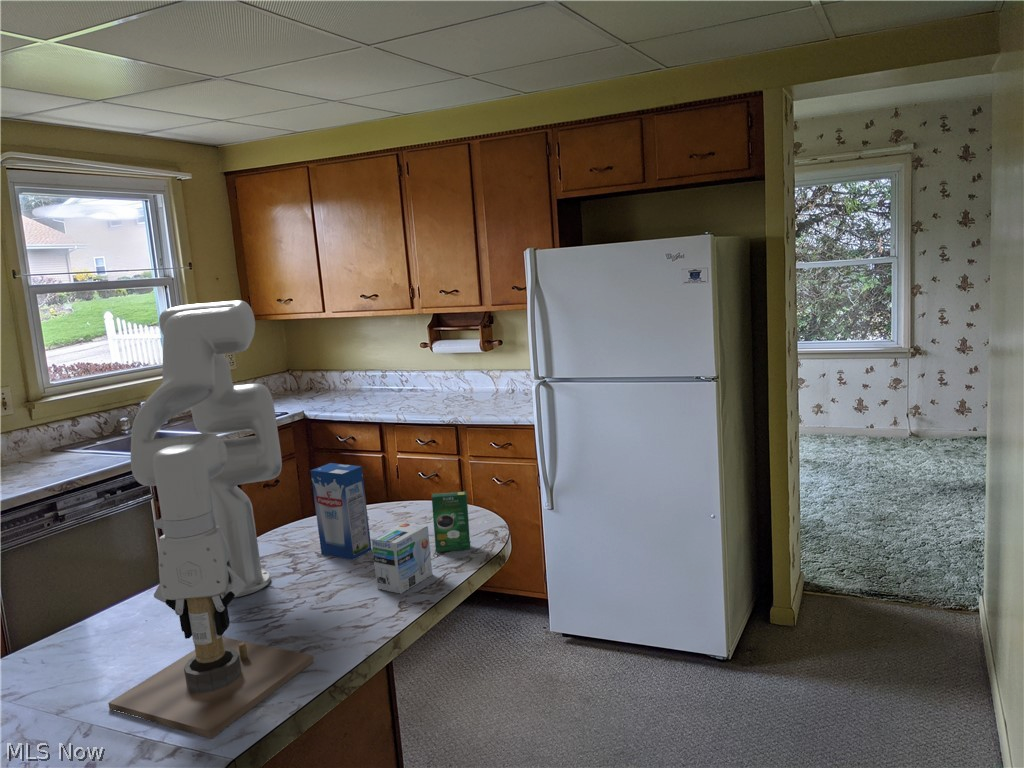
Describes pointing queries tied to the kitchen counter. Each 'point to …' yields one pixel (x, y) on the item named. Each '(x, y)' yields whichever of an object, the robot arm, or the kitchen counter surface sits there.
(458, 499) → the coffee box
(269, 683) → the collar board
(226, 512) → the robot arm
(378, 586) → the light bulb box
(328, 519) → the milk carton
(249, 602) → the kitchen counter surface
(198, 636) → the sprinkles bottle
